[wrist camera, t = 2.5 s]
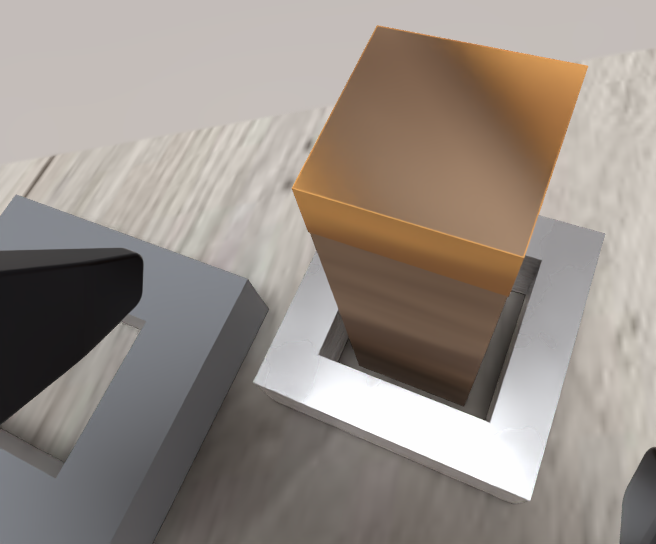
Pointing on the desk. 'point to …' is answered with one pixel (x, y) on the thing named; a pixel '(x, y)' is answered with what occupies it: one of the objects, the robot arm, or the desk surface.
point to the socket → (129, 394)
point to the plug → (432, 197)
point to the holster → (433, 417)
